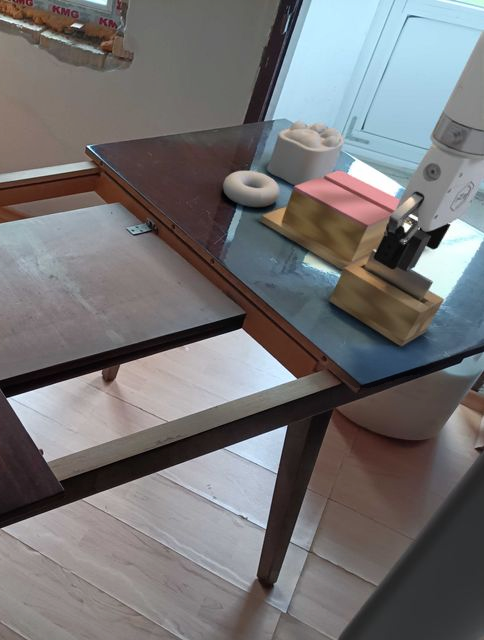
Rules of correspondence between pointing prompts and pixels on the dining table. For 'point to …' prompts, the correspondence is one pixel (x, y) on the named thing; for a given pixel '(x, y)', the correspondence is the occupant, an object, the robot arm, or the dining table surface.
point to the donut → (251, 188)
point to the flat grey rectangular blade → (405, 269)
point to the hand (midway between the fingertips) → (405, 253)
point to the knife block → (383, 304)
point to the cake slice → (363, 191)
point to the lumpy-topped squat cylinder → (305, 152)
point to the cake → (330, 222)
